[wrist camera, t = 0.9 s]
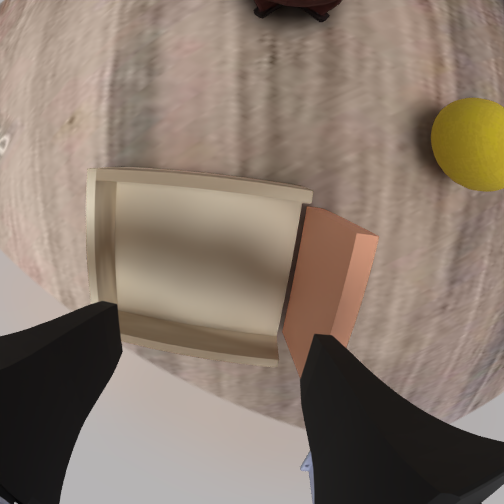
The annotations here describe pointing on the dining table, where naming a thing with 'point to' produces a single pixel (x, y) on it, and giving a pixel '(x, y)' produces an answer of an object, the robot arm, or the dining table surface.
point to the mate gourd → (315, 3)
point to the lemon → (471, 143)
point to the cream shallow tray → (193, 258)
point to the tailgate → (327, 281)
